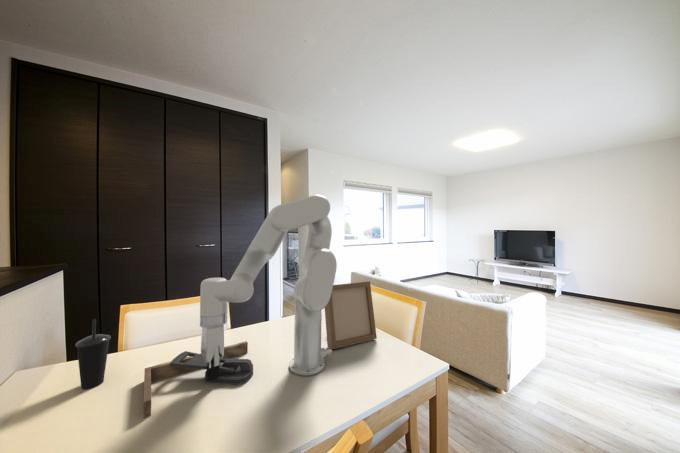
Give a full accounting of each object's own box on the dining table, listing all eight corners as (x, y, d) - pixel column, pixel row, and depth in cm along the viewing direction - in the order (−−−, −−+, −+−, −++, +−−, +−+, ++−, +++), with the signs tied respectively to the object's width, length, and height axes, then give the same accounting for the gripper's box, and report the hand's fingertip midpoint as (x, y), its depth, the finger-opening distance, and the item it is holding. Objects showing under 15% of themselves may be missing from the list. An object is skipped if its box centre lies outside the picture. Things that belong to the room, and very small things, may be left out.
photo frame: (376, 340, 107) (377, 283, 107) (332, 351, 97) (332, 288, 97) (358, 328, 120) (359, 277, 120) (317, 337, 110) (318, 281, 110)
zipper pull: (184, 349, 84) (256, 349, 85) (183, 369, 84) (256, 369, 85) (166, 363, 75) (247, 364, 76) (165, 385, 75) (247, 385, 76)
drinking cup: (68, 395, 70) (70, 325, 70) (81, 380, 77) (83, 317, 77) (104, 388, 73) (105, 321, 74) (113, 374, 80) (114, 313, 80)
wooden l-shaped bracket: (246, 351, 96) (246, 341, 96) (264, 373, 82) (264, 361, 82) (144, 381, 77) (144, 368, 77) (143, 417, 62) (143, 402, 62)
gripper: (196, 314, 79) (194, 371, 79) (204, 329, 67) (203, 396, 67) (221, 309, 83) (220, 363, 83) (233, 323, 72) (232, 386, 71)
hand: (212, 378), depth 75 cm, fingers closed
